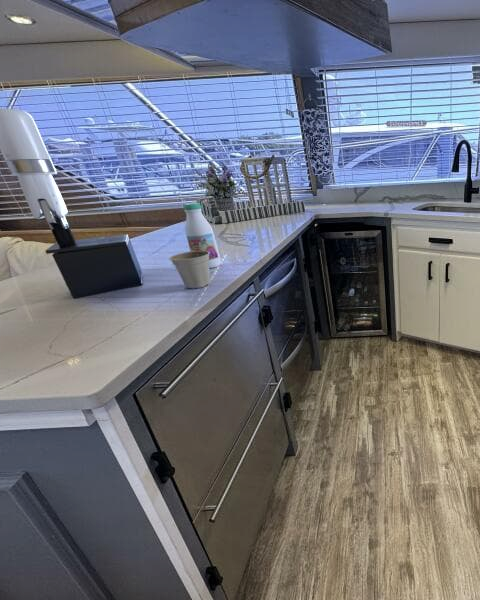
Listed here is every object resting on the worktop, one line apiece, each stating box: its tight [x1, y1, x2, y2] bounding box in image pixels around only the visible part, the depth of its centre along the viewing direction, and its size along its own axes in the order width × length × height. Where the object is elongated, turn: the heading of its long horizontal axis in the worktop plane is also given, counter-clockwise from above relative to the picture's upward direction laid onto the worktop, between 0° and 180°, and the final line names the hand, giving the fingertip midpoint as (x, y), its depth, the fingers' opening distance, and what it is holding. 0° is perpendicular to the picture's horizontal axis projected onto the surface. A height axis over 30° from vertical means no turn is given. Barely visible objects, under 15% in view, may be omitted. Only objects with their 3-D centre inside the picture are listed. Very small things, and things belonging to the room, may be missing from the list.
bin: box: [51, 237, 144, 300], centre depth 89 cm, size 15×13×12 cm
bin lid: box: [45, 234, 130, 255], centre depth 86 cm, size 15×13×1 cm
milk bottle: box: [182, 202, 222, 269], centre depth 102 cm, size 8×8×20 cm
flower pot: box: [168, 251, 212, 289], centre depth 87 cm, size 9×9×9 cm
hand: (67, 244), depth 84 cm, fingers closed
